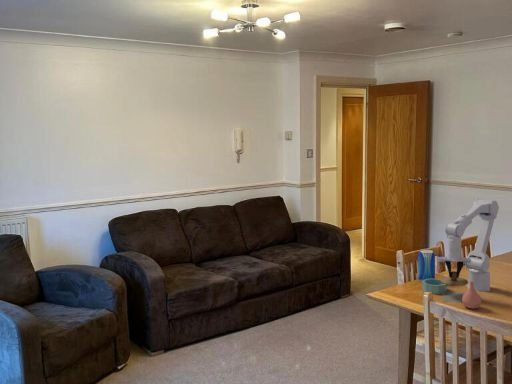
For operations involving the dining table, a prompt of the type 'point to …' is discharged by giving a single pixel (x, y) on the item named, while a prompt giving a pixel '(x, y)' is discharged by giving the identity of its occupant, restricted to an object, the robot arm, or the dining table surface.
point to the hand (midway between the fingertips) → (453, 277)
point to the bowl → (434, 286)
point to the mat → (453, 296)
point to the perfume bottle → (471, 298)
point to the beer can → (426, 265)
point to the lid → (454, 280)
